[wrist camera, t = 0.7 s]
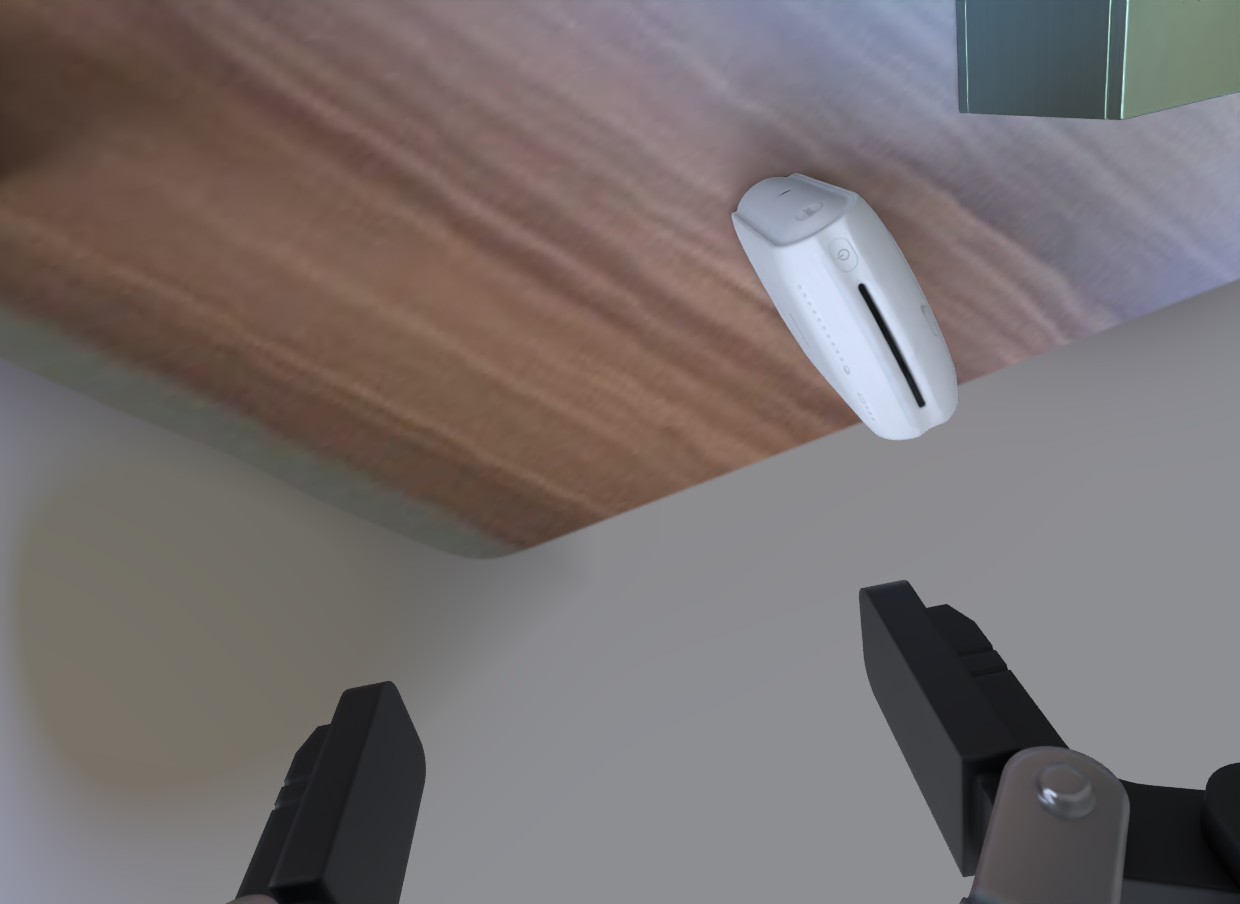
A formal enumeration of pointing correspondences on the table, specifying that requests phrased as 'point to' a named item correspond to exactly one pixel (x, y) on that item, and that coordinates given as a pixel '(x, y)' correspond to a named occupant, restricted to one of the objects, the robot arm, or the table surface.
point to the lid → (1171, 54)
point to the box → (1034, 57)
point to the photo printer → (850, 302)
